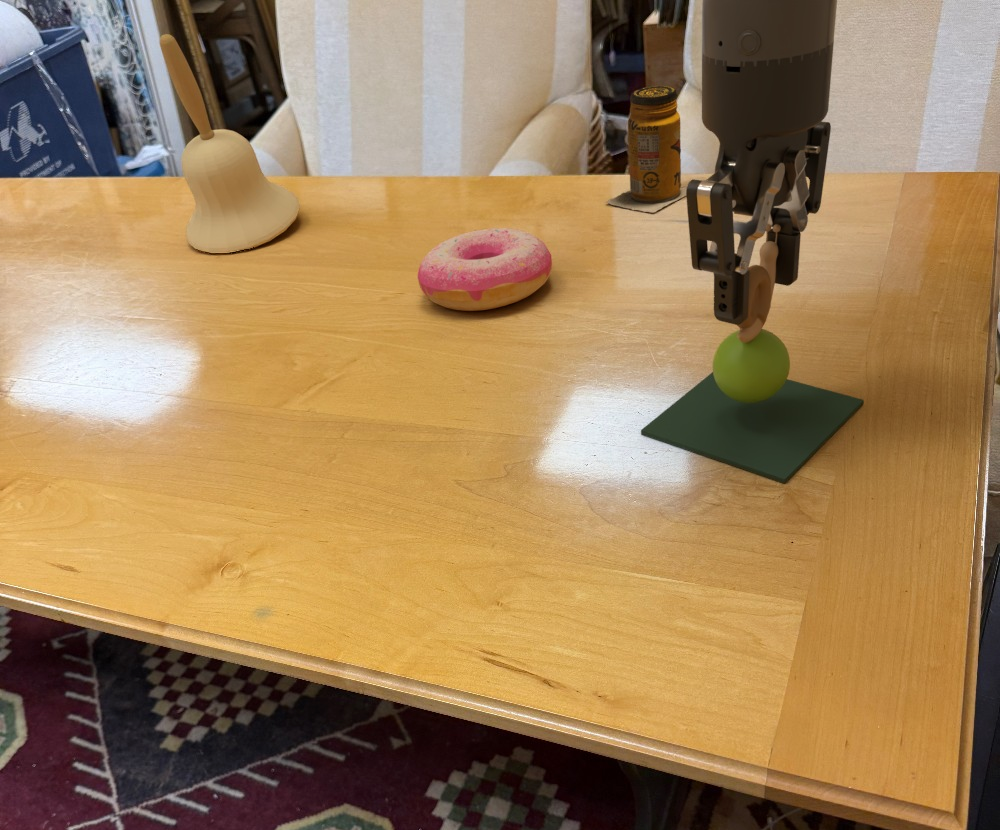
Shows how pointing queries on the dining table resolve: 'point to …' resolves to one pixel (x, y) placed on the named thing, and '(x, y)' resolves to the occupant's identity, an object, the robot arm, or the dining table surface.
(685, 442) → the mat
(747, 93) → the robot arm
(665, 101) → the condiment
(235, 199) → the handbell
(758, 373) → the snail figurine
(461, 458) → the dining table surface
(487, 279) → the donut
